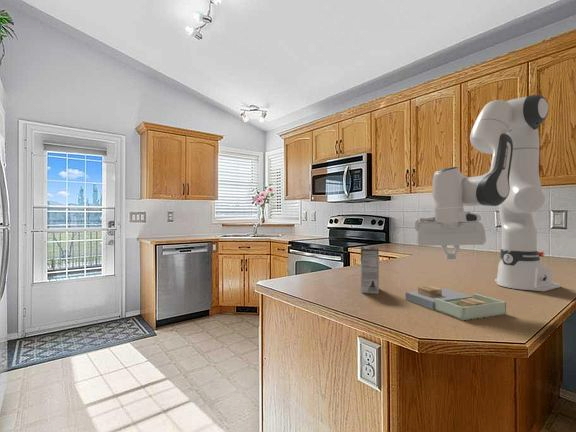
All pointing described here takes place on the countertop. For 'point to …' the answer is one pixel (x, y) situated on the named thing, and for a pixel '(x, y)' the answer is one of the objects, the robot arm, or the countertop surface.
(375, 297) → the countertop surface
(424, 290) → the tile
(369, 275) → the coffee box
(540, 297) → the countertop surface
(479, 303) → the tile
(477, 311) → the tray
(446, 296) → the board
